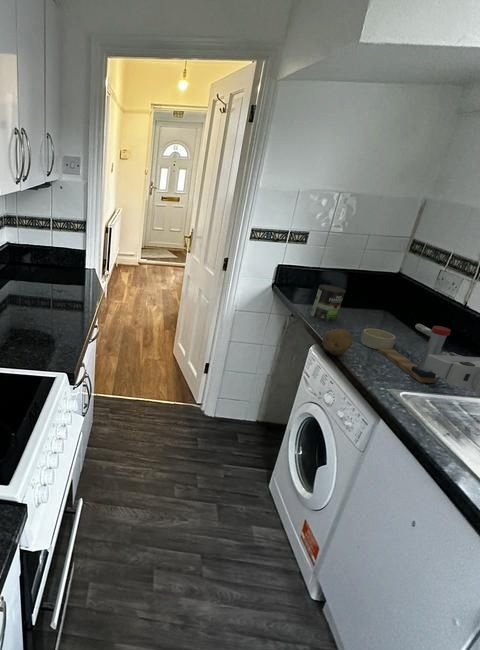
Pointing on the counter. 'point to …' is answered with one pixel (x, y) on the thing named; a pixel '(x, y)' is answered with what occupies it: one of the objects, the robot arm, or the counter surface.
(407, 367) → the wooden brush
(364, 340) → the basin
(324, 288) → the coffee can
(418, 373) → the tap
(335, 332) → the natural sponge
